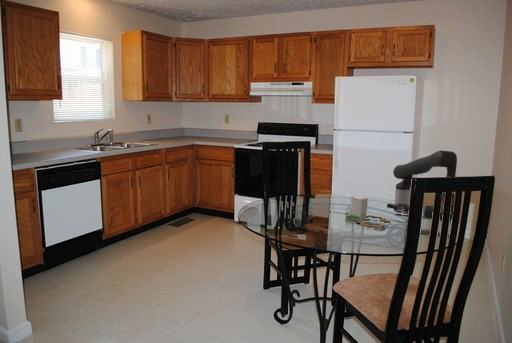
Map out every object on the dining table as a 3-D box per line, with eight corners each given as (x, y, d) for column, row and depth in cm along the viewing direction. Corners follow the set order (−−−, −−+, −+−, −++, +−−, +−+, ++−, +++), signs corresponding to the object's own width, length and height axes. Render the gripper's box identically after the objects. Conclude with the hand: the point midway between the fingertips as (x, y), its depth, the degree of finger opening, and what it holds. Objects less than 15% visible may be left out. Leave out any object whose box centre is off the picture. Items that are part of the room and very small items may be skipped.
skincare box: (349, 221, 255) (350, 196, 253) (355, 219, 260) (356, 195, 257) (360, 224, 249) (361, 198, 247) (366, 222, 253) (368, 197, 251)
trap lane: (357, 216, 268) (357, 210, 267) (393, 222, 254) (393, 215, 254) (341, 223, 248) (342, 217, 248) (380, 230, 235) (380, 223, 234)
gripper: (421, 201, 239) (391, 197, 249) (414, 206, 228) (384, 201, 238) (420, 214, 240) (390, 209, 250) (413, 219, 229) (383, 213, 239)
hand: (387, 205), depth 244 cm, fingers closed
